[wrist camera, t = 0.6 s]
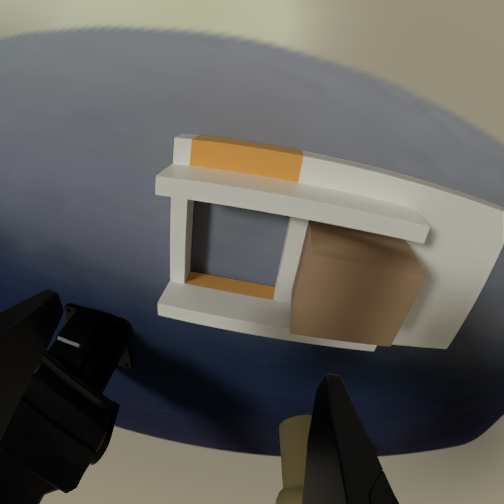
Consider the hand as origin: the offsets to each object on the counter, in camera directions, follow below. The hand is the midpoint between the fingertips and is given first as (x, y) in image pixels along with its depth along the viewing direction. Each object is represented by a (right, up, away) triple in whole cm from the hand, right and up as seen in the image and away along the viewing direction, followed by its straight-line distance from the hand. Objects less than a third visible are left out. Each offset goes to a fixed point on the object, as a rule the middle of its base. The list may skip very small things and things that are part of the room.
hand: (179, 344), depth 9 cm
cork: (+8, -17, +22) cm, 29 cm away
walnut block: (+8, +2, +10) cm, 13 cm away
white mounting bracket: (+8, +3, +11) cm, 14 cm away
